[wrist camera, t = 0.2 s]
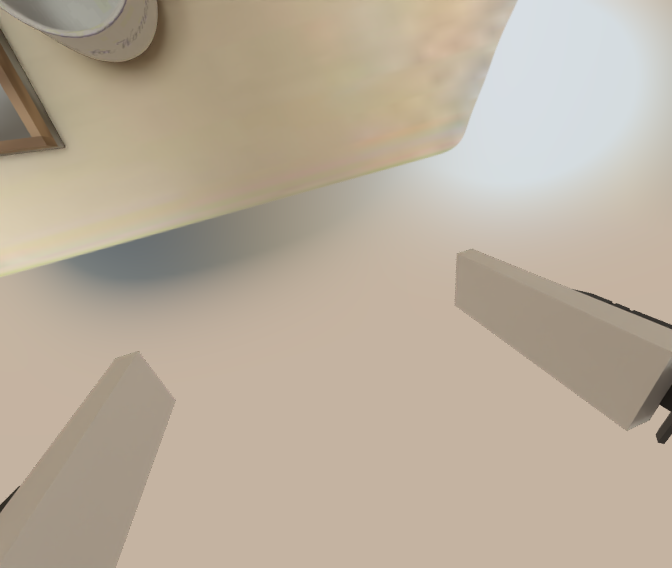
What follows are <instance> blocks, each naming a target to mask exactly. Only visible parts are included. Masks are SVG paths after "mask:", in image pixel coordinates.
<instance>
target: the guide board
mask: <svg viewBox="0 0 672 568" xmlns="http://www.w3.org/2000/svg"><path fill="white" fill-rule="evenodd" d="M64 147H65V146H64V144H63V142H62V140H61V139H60V137H59V135H58V133H57V131H56V130H55V128H54V126H53V124H52V122H51V120H50V119H49V117H48V115H47V113H46V111H45V109H44V108H43V106H42V104H41V102H40V100H39V99H38V97H37V95H36V93H35V91H34V89H33V88H32V86H31V84H30V82H29V80H28V78H27V77H26V75H25V73H24V71H23V69H22V68H21V66H20V64H19V62H18V60H17V58H16V57H15V55H14V53H13V51H12V49H11V47H10V46H9V44H8V42H7V40H6V38H5V37H4V35H3V33H2V31H1V29H0V156H3V155H11V154H19V153H26V152H34V151H41V150H49V149H57V148H64Z"/></svg>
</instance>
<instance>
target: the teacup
mask: <svg viewBox="0 0 672 568" xmlns="http://www.w3.org/2000/svg"><path fill="white" fill-rule="evenodd" d="M0 7H1V8H2V9H4V10H5V11H6V12H8V13H9V14H11V15H12V16H14V17H15V18H17V19H18V20H20V21H22V22H23V23H25V24H27V25H29V26H31V27H33V28H35V29H37V30H39V31H41V32H43V33H44V34H46V35H47V36H49V37H51V38H52V39H54V40H56V41H57V42H59V43H61V44H63V45H64V46H66V47H68V48H70V49H72V50H74V51H76V52H78V53H80V54H83V55H85V56H88V57H90V58H94V59H97V60H101V61H107V62H123V61H127V60H131V59H133V58H135V57H137V56H139V55H141V54H142V53H143V52H144V51H145V50H146V49H147V48H148V47H149V45H150V43H151V42H152V40H153V38H154V35H155V32H156V27H157V20H158V6H157V0H0Z"/></svg>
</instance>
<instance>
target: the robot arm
mask: <svg viewBox="0 0 672 568" xmlns="http://www.w3.org/2000/svg"><path fill="white" fill-rule="evenodd" d="M455 289H456V290H455V306H456V307H458V308H459V309H461V310H462V311H463V312H465V313H466V314H468V315H469V316H470V317H471V318H473V319H474V320H476V321H477V322H479V323H480V324H481V325H482V326H484V327H485V328H487V329H488V330H489V331H491V332H492V333H493V334H495V335H496V336H497V337H499V338H500V339H502V340H503V341H504V342H506V343H507V344H508V345H510V346H511V347H513V348H514V349H515V350H517V351H518V352H519V353H521V354H522V355H523V356H525V357H526V358H528V359H529V360H530V361H532V362H533V363H534V364H536V365H537V366H539V367H540V368H541V369H543V370H544V371H545V372H547V373H548V374H550V375H551V376H552V377H554V378H555V379H556V380H558V381H559V382H560V383H562V384H563V385H565V386H566V387H567V388H569V389H570V390H571V391H573V392H574V393H575V394H577V395H578V396H580V397H581V398H582V399H584V400H585V401H586V402H588V403H589V404H591V405H592V406H593V407H595V408H596V409H597V410H599V411H600V412H602V413H603V414H604V415H606V416H607V417H608V418H610V419H611V420H612V421H614V422H615V423H616V424H618V425H619V426H621V427H622V428H623V429H625V430H626V431H628V430H630V429H632V428H634V427H636V426H638V425H640V424H642V423H645V422H647V421H648V420H650V418H651V417H652V415H653V414H654V412H655V411H656V409H657V408H658V406H659V405H661V406H663V407H664V408H666V409H668V410H669V411H671V413H670V414H669V416H668V417H667V418H666V420H665V421H664V423H663V424H662V425H661V427H660V428H659V430H658V432H657V433H656V437H657V440H658V443H662V444H665V442H666V441H667V440H668V438H669V437H670V436H671V434H672V325H670V324H668V323H665V322H663V321H660V320H658V319H655V318H652V317H650V316H648V315H645V314H642V313H640V312H637V311H635V310H634V311H631V310H630V309H629V308H627V307H624V306H622V305H620V304H617V303H616V304H613V303H612V301H609V300H607V299H604V298H602V297H599V296H597V295H594V294H591V293H587V292H583V291H578V290H574V289H570V288H568V287H565V286H563V285H561V284H558V283H556V282H553V281H551V280H548V279H546V278H543V277H541V276H538V275H536V274H533V273H531V272H528V271H526V270H523V269H521V268H518V267H516V266H513V265H511V264H508V263H506V262H504V261H501V260H499V259H496V258H494V257H491V256H488V255H486V254H484V253H481V252H479V251H476V250H474V249H470V250H466V251H464V252H460V253H457V263H456V288H455ZM175 401H176V400H175V399H174V397H173V396H172V395H171V393H170V392H169V391H168V389H167V388H166V387H165V386H164V384H163V383H162V382H161V380H160V379H159V378H158V376H157V375H156V374H155V372H154V371H153V370H152V368H151V367H150V366H149V364H148V363H147V362H146V360H145V359H144V358H143V356H142V355H141V354H140V352H139V351H137V352H134V353H131V354H128V355H124V356H121V357H118V358H115V360H114V361H113V363H112V364H111V365H110V366H109V368H108V369H107V371H106V372H105V373H104V375H103V376H102V377H101V379H100V380H99V381H98V383H97V384H96V386H95V387H94V388H93V389H92V391H91V392H90V393H89V395H88V396H87V397H86V399H85V400H84V402H83V403H82V404H81V405H80V407H79V408H78V409H77V411H76V412H75V413H74V415H73V416H72V417H71V419H70V420H69V422H68V423H67V424H66V426H65V427H64V428H63V430H62V431H61V432H60V434H59V435H58V436H57V438H56V439H55V440H54V442H53V443H52V444H51V446H50V447H49V448H48V450H47V451H46V452H45V454H44V455H43V456H42V458H41V459H40V460H39V462H38V463H37V464H36V466H35V467H34V468H33V470H32V471H31V473H30V474H29V475H28V477H27V478H26V479H25V481H24V482H23V483H22V485H21V486H19V487H18V488H17V489H16V490H15V491H14V492H13V493H12V494H11V495H10V496H9V497H8V498H7V499H6V500H5V501H4V502H3V503H2V504H1V505H0V568H116V565H117V562H118V560H119V557H120V554H121V551H122V549H123V546H124V543H125V540H126V537H127V535H128V532H129V529H130V526H131V523H132V521H133V518H134V515H135V512H136V509H137V507H138V504H139V501H140V498H141V496H142V493H143V490H144V487H145V485H146V482H147V479H148V476H149V473H150V471H151V468H152V465H153V462H154V459H155V457H156V454H157V451H158V448H159V446H160V443H161V440H162V437H163V434H164V431H165V429H166V426H167V423H168V421H169V418H170V415H171V412H172V409H173V407H174V404H175Z"/></svg>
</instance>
